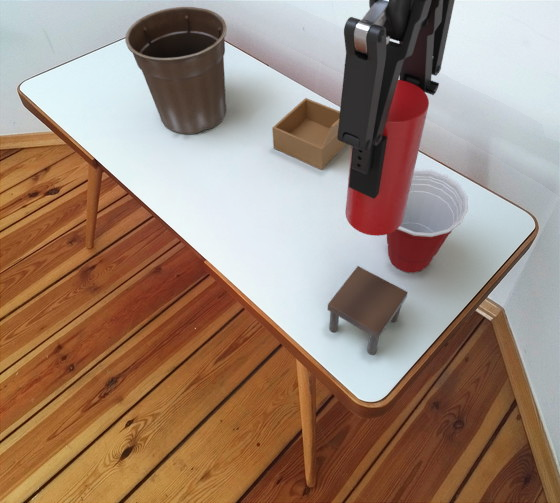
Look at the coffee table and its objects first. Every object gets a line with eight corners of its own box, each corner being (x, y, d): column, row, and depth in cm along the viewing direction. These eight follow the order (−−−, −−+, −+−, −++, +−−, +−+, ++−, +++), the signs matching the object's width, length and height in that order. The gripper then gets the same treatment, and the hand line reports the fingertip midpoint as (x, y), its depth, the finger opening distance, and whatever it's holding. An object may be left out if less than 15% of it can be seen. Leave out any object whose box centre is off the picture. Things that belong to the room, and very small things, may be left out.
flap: (353, 113, 85) (355, 114, 85) (321, 145, 81) (323, 146, 81) (364, 93, 81) (366, 94, 81) (331, 125, 77) (333, 127, 77)
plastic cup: (353, 260, 73) (361, 201, 63) (398, 217, 78) (411, 156, 68) (419, 303, 68) (438, 246, 59) (462, 255, 73) (486, 195, 63)
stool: (400, 317, 67) (408, 292, 62) (373, 358, 63) (379, 334, 59) (354, 292, 70) (357, 265, 65) (325, 329, 66) (327, 304, 61)
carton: (352, 137, 89) (354, 116, 86) (321, 170, 85) (322, 149, 81) (305, 118, 93) (305, 97, 90) (273, 148, 88) (272, 127, 85)
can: (413, 208, 54) (441, 93, 43) (385, 245, 51) (407, 131, 40) (364, 185, 56) (378, 71, 45) (334, 219, 53) (342, 105, 43)
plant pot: (136, 139, 91) (109, 55, 79) (163, 86, 101) (143, 4, 88) (225, 146, 89) (213, 61, 77) (244, 91, 99) (235, 8, 86)
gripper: (438, -167, 37) (394, 105, 55) (282, -79, 28) (291, 214, 46) (544, -153, 34) (461, 130, 52) (409, -49, 25) (364, 251, 43)
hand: (381, 169), depth 49 cm, fingers closed on can, 6 cm apart
